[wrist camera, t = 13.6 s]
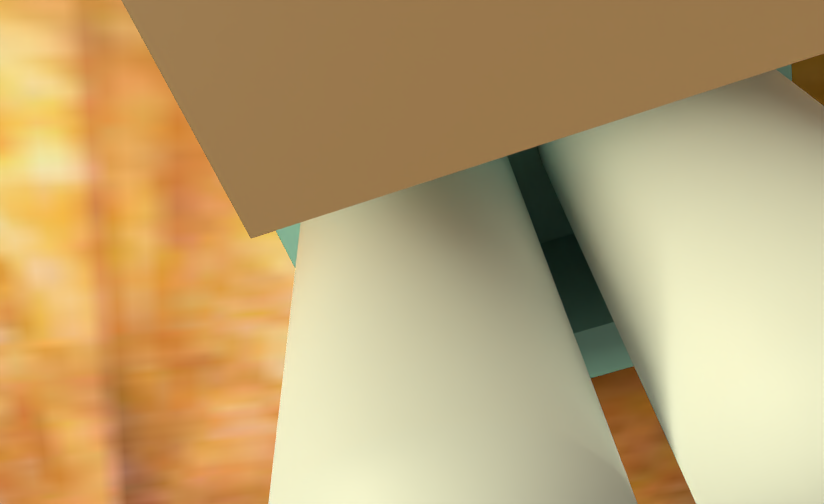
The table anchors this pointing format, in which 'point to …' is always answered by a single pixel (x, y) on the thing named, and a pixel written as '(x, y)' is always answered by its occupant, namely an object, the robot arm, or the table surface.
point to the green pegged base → (524, 235)
